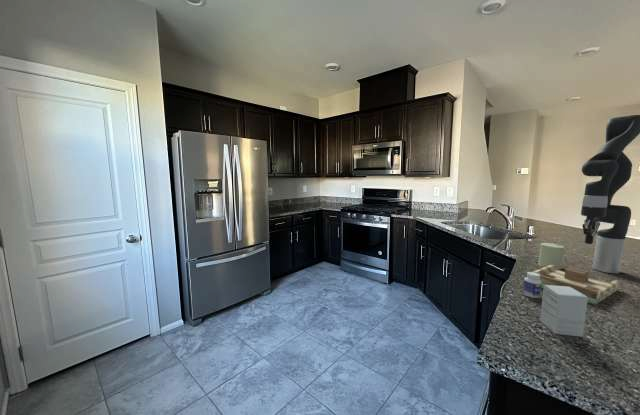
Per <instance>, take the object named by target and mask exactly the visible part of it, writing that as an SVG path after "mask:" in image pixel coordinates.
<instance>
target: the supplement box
mask: <svg viewBox="0 0 640 415" xmlns="http://www.w3.org/2000/svg"><path fill="white" fill-rule="evenodd" d="M541 300H542V301H541V310H540V316H539V321H540V322H541V323H542V324H543V325H544V326H545V327H546V328H547V329H549V330H550V331H551V332H552V333H553V334H555V335H562V336H571V337H572V336H573V337H581V338H583V337H584V331H585V330H584V329H585V325H586V324H585V322H586V315H587V308H588V297H587V296H585V295H584V294H582V293H580V292H578V291H577V290H575V289H573V288H571V287H567V286H553V285H544V288H543V291H542V299H541Z"/></svg>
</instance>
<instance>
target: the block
mask: <svg viewBox="0 0 640 415" xmlns="http://www.w3.org/2000/svg"><path fill="white" fill-rule="evenodd" d="M564 272H565V276H564V278H566V279H570V280H574V281H577V282H581V283H584V282H586V281H588V278H590V277H589V276H590V271H589V270H584V269H582V268H581V269H580V268H576V267H573V266H570V267H568V268H566V269H565V271H564Z"/></svg>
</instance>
